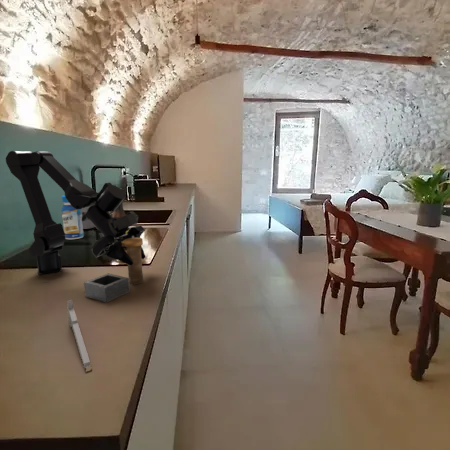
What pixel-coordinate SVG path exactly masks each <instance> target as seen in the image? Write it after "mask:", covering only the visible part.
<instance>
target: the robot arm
mask: <svg viewBox="0 0 450 450" xmlns="http://www.w3.org/2000/svg"><path fill="white" fill-rule="evenodd" d="M5 163H6V165H7V167H8V169H9V170H10V174H12V175H13V176H14V177H15V178H16V179H17V180H19V182H20V184H21V187H22V191H23V193H24V196H25V199H26V201H27V205H28V207H29V210H30V212H31V215H32V218H33V221H34V224H35V226H34V229H33V230H34V231H33V234H32V235H33V239H34V241H33V243H32V244H31V245H30V246H29V248H28V251H29V253H30V256H35V257H36V262H37V274H38V275H43V274H51V273H58V272H61V271H62V268H63V265H62V256H61V254H60V253H59V251H62V250H63V249H64V245H65V241H66V239H65V235H66V234H65V232H64V226H63V225H62V224H63V223H57V222H55V221H54V219H53V218H52V215H51V212H50V209H49V206H48V204H47V200H46V197H45V195H44V192H43V188H42V186H41V184H40V181H39V178H38V177H39V173H40V169H42V171H44V173H45V174H47V175H48V176H49V177H50V179H52V180H53V182H55V183H56V184H57V186H59V188H61V189H62V191H63V192H64V195H65V197H66V199H67V200H68V202H69V203H70V204H71V206H72V207H73V208H75V209H83V208H88V207H89V209H88V210H87V211H86V212H82V221H87V220H90V221H91V222H92V223H93V225H94V226H95V227H94V228H96V229H97V231H96V232H95V233H96V234H97V236H100V235H102V237H100V238H99V239H98V240H97V241H96V243H95V244H94V245H93V246H92V247H91V252H92V254H93V255H94V256H95V258H99V257H101V256H104V257H108V258H111V259H114V260H117V261H119V262H121V263H123V264H126V265H127V266H128V265H133V261H132V259H131V258H130V257H129V255H128V254H127V251H126V250H125V249H124V247H122V242H123V241H124V240H125V239H127V238H141V237H142V235H143V233H144V232H145V231H146V230H145V228H144V227H143V226H142V225H138V224H139V222H138V220H139V215H138V214H137V213H136V212H134V211H133V210H132V211H129V212H127V213H125V214H126V215H125V216H123V217H121V218H118V217H115V218H114V217H113V216H112V214H111V213H113V211H115V210H116V209H117V207H118V206H119V205H120V204H121V202H122V201H123V202H124V200H125V199H126V193H125V190H123V189H121V188H120V187H118V186H116V185H114V184H112V183H111V182H105V183H104V184H103V185H102V188H101V189H100V190H99V192H97V191H96V190H95V189H93V188H92V187H91V186H89V185H88V184H86V183H83V182H81V181H79V180H78V179H76V177H74V176H73V174H71V173H70V172H69V171H68V170H67V169H66V168H65V167H64V166H63V165H62V164H61V163H60V162H59V161H58V160H57V159H56V158H55V157H54V155H53V153H52V152H50V151H47V150H46V151H43V150H37V151H29V150H27V151H26V150H11V151H9V152H8V153H7V155H6V157H5ZM110 212H111V213H110ZM133 225H134V226H133ZM130 227H131V228H130ZM128 230H129V231H128ZM126 231H128V232H127V233H126ZM142 246H143V245H141V258H142V260H144V259H146V254H145V251H144V250H143V247H142ZM125 248H126V249H127V247H126V246H125Z"/></svg>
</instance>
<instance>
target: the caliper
mask: <svg viewBox="0 0 450 450" xmlns="http://www.w3.org/2000/svg"><path fill="white" fill-rule="evenodd" d="M66 309H67V319H68V324H69V328H70V329H71V330H72V332H73V334H74V338H75V341H76V345H77V348H78V352H79V356H80V360H81V359H82V360H81V362H82V361H83V363H82V365H83V364H84V366H83V368H84V367H87V366H88V367H89V365H90V366H91V361H90V358H89V353H88V351H87V347H86V345H85V342H84V341H85V340H84V338H83V336H82V335H83V334H82V333H81V329H80V325H79V321H78V318H77V314H76V312H75V308H74V302H73V299H70V300H67V301H66ZM71 327H72V328H71ZM91 367H92V366H91Z"/></svg>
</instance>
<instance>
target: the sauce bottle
mask: <svg viewBox="0 0 450 450" xmlns="http://www.w3.org/2000/svg"><path fill="white" fill-rule="evenodd" d="M123 203H124V200H123V201H122V202H121V204H120V205H119V206H118V207H117V209H116V210H115V211H113V212H112V214H111V215H112V216H113V217H114V218H115V217H118V218H121V217H123V216H125V215H126V214H127V213H126V212H125V210H124V205H123ZM129 230H130V229H129ZM129 230H128V231H129ZM128 231H126V233H127V232H128ZM122 247H123V248H124V247H125V246H124V241H123V242H122Z"/></svg>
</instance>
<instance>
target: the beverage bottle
mask: <svg viewBox="0 0 450 450" xmlns="http://www.w3.org/2000/svg"><path fill="white" fill-rule="evenodd" d="M61 198H62V201H61V202H62V203H63V206H62V208H61V212H62V215H61V218H62V224H63V225H62V226H63V230H64V232H65V234H66V235H65V240H78V239H83V238H84V235H85V233H84V229H83V224H82V213H81V209H75V208H73V207H72V206H71V204H70V203H69V202H68V200H67V199H66V197H65V194H64V195H62V196H61Z"/></svg>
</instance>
